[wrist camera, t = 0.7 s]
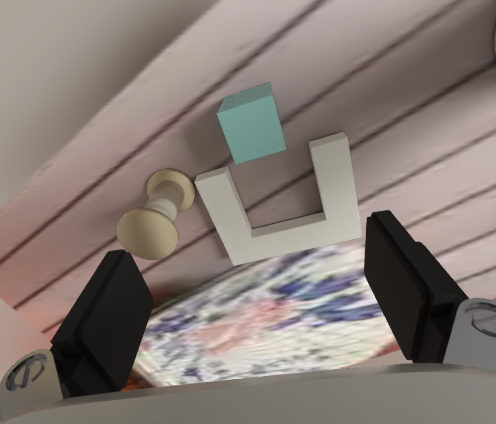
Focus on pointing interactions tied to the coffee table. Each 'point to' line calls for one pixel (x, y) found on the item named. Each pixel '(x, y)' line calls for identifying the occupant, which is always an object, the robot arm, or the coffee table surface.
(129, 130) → the coffee table surface
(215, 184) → the notched board
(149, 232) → the bobbin
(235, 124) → the block
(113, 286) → the robot arm
